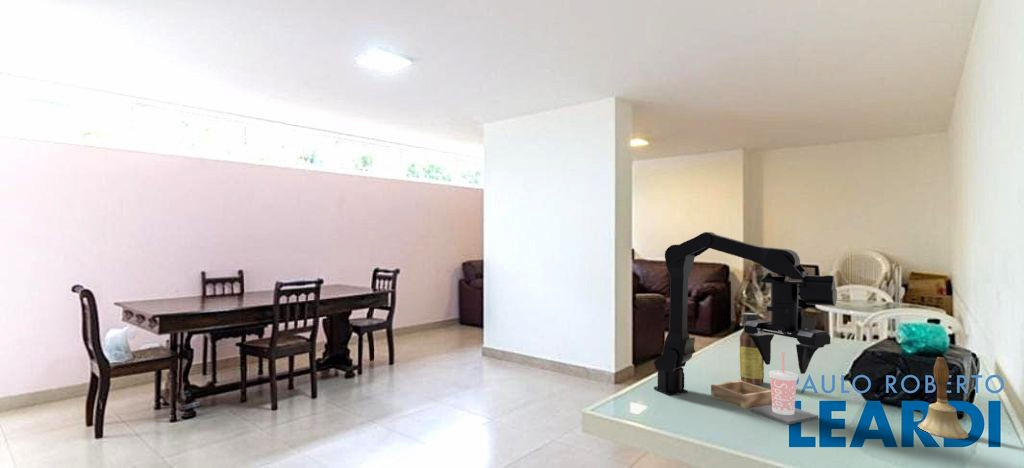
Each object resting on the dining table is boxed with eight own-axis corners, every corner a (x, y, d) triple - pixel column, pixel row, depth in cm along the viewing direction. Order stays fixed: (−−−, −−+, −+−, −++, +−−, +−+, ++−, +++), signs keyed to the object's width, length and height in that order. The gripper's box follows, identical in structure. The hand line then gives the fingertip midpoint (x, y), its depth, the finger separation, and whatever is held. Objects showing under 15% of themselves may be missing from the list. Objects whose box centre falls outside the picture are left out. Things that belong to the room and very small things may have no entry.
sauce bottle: (768, 386, 142) (768, 315, 142) (745, 385, 142) (745, 315, 142) (757, 379, 148) (757, 311, 148) (735, 379, 148) (735, 311, 149)
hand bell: (957, 442, 103) (956, 363, 103) (910, 428, 110) (909, 355, 111) (976, 434, 107) (975, 359, 107) (929, 422, 114) (928, 351, 114)
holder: (744, 408, 123) (744, 396, 123) (711, 396, 133) (711, 384, 133) (774, 402, 127) (774, 390, 127) (740, 391, 137) (740, 380, 137)
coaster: (788, 424, 112) (788, 421, 112) (750, 410, 121) (750, 408, 121) (818, 418, 116) (818, 415, 116) (779, 405, 126) (779, 402, 126)
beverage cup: (762, 409, 120) (762, 350, 121) (780, 405, 123) (780, 348, 123) (786, 417, 115) (786, 356, 115) (804, 413, 118) (804, 353, 118)
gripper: (846, 305, 114) (846, 374, 114) (773, 296, 131) (774, 357, 131) (813, 308, 109) (813, 380, 109) (742, 298, 126) (742, 361, 126)
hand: (784, 368), depth 119 cm, fingers open, 9 cm apart
